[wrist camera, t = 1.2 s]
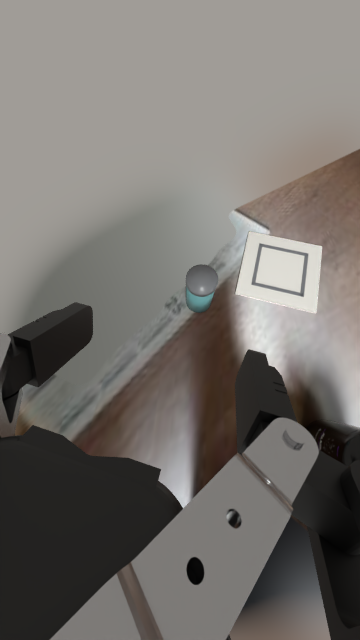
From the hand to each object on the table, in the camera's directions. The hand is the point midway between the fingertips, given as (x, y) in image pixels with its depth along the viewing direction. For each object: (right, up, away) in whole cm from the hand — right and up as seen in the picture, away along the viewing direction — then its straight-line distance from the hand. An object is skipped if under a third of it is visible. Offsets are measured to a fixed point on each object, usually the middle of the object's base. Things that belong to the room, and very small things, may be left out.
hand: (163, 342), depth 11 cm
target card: (+19, +10, +29) cm, 36 cm away
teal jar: (+4, +4, +27) cm, 28 cm away
